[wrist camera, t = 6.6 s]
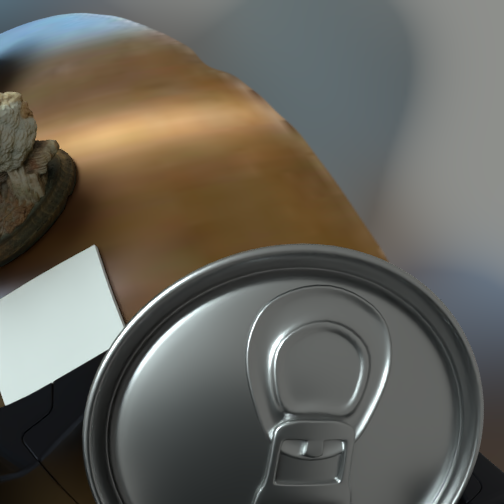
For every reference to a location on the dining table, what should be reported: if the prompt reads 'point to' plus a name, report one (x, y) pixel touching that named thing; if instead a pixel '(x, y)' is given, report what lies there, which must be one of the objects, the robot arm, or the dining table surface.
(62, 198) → the owl figurine
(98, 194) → the dining table surface
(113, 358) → the can
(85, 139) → the dining table surface
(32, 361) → the mat
